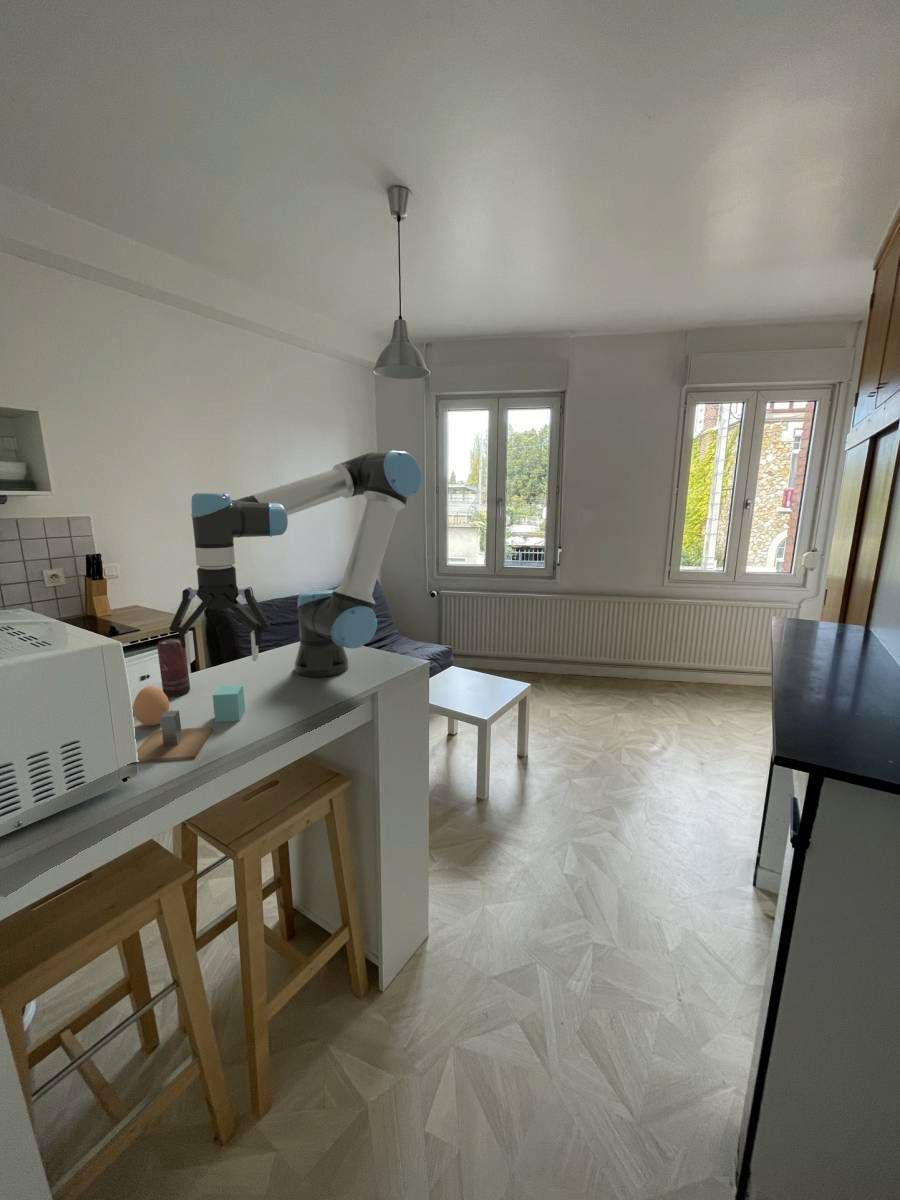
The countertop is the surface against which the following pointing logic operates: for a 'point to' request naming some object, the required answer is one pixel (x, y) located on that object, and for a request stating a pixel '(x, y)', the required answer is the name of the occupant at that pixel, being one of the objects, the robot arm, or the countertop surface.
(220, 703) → the turquoise block
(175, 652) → the can
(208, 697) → the countertop surface
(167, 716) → the post
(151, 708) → the egg
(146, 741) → the base board
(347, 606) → the robot arm
